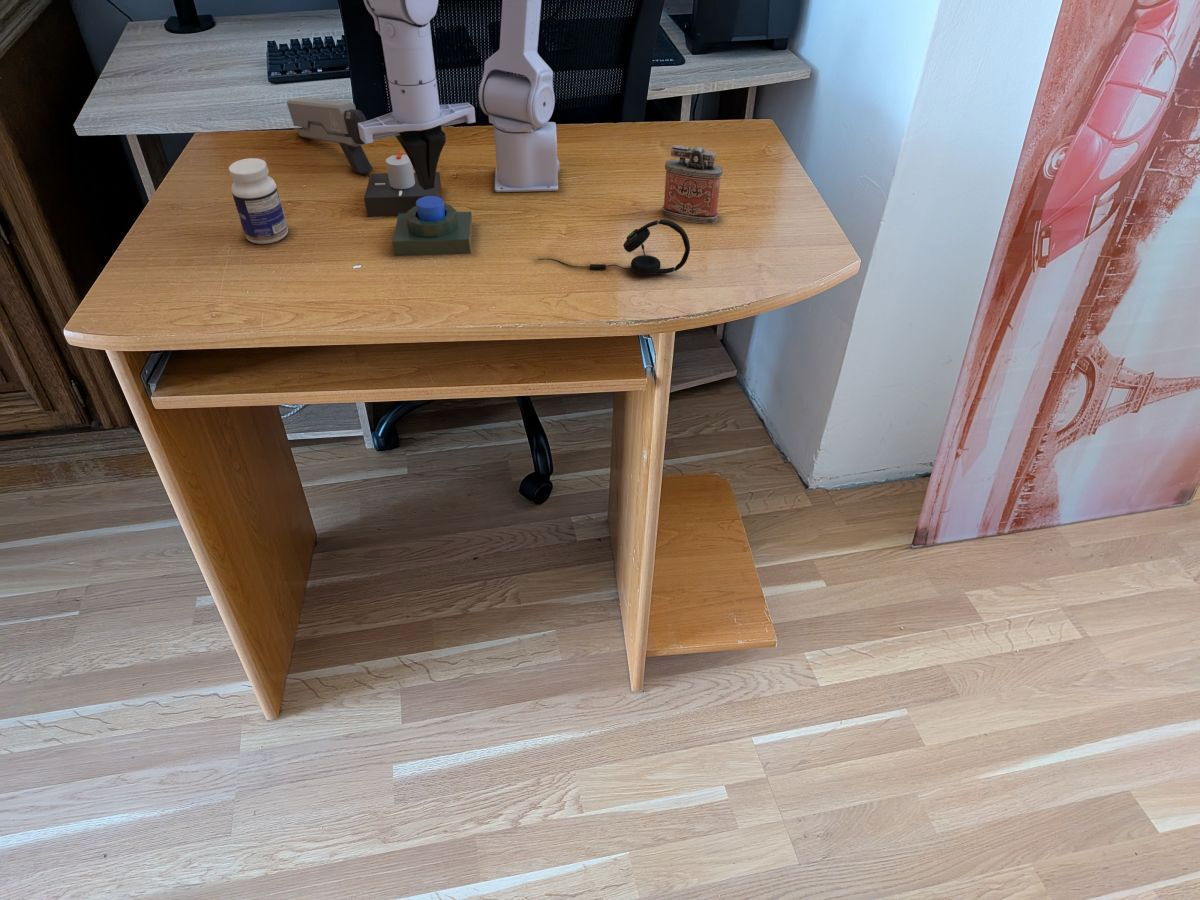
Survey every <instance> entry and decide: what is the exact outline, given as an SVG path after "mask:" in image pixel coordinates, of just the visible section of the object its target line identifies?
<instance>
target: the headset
mask: <svg viewBox="0 0 1200 900" xmlns="http://www.w3.org/2000/svg"><path fill="white" fill-rule="evenodd" d="M658 225H662V226H667V227H669V228H671V229H672V230H674V231H675V232H677V233H678V234H679V236H680V237H681V239H682V242H683V245H684V253H683V255H682V257H681V260H680V261H679V262H678V264H676V266H675V267H674V266H671V267H667V268H661V267H662V264H661V260H660V259H659V258H658V257H655V256H653V255H647V254H646V253H645V244H644V243H645V242H646V241H647V240H648V238H649V237H650V235H651V231H650V229H649V228H651V227H654V226H658ZM622 247H623V249H624V250H625V252H627V253H632V252H633V251H635V250H637V249H638V248H639V247H641V250H642V252H643V255H637V256H635V257H633V258H632V260H631V262H630V268H627V267H622V266H620V265H617V264H608V265H606V264H604V263H603V264H602V263H601V264H599V263H598V264H597V263H593V264H592V263H591V264H589V265H586V266H585V265H582V266H577V265H572V264H568V263H565V262H562V261H560V260H557V259H554V258H547V260H548V261H555V262H557V263H561V264H563V265H566V266H569V267H573V268H589V269H591V270H606V269H607V267H613V266H615V267H618V268H621V269H622V270H623V269H624V270H631V271H632V272H633V273H635V274H637V275H640V276H641V275H642V276H651V275H652V276H653V275H655V274H656V275H657V274H658V275H660V274H661V275H662V274H663V275H664V274H669V273H674V272H676V271H678V270H680V269H681V268H683V266H684V265H685V264H686V263H687V261H688V259H689V256H690V252H691V243H690V239H689V236H688V234H687V232H686V231H685V229H683V227H682V226H680V225H679V224H678V223H676V222H675V221H672V220H669V219H657V220H653V221H651V222H648V223H646V224H644V225H643V226H641V227H640V228H636V229H634V230H632V232H630V233H629V234H627V236H626V240H625V241H624V243H623V245H622ZM537 260H538V261H542V260H544V258H538V259H537Z"/></svg>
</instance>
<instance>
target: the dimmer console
mask: <svg viewBox="0 0 1200 900" xmlns="http://www.w3.org/2000/svg"><path fill="white" fill-rule="evenodd" d="M414 178H415V185H414V186H412V187H410V188H407V189H395V188H392V187H391V186H390V183H389V177H388V172H384V173H383V172H381V173H370V176H369V180H368V181H367V186H366V189H365V194H364V197H363V200H364V205H365V210H366V215H367V216H366V217H367V218H378V217H379V218H384V217H398V214H402V213H407V211H409V210H410V209H412V208H413V207H414V206H416V201H417V200H418V199H420V198H422V197H425V196H437V197H440V198H442V191H443V190H442V181H441V173H440V171H436V174H435V184H434V188H431V189H427V190H424V189H423V188H422V187H421V186H420V185H419V182H418V179H417V176H416V173H415V172H414Z"/></svg>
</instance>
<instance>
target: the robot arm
mask: <svg viewBox="0 0 1200 900" xmlns="http://www.w3.org/2000/svg"><path fill="white" fill-rule="evenodd" d="M363 3H364V6H365V8H366V10H367V11H368V13H369V14H370V15H371V16H372V18H373V21H374V28H375V31H376V32H377V33H378V35H379V36H380V37H381V39H380V40H381V44H382V45H381V46H382V50H383V57H384V58H383V59H384V64H385V70H386V76H387V77H386V78H387V83H388V90H389V96H390V103H391V109H392V111H391V112H389V113H386V114H383V115H381V116H378V117H374V118H372V119H369V120H366V121H365V122H361V123H358V129H359V134H360V139H361V140H362V141H363V142H364V143H365V144H364V145H368V144H372V143H374V141H376V140H382V139H387V138H392V137H395V138H396V139H397V141H398V142H399V144H400V145H401V147H402V149H403V150H404V152H405V155H408V157H409V159H410V161H411V163H412V166H413V171H414V173H416V176H417V179H418V182H419V185H420V186H421V187H422V188H423V189H424V190H427V189H431V188H434V184H435V174H436V172H437V168H438V163H439V159H440V156H441V153H442V151H443V148H444V147H445V144H446V143H447V136H446V133H445V132H444V131H443V127H449V126H454V125H458V124H462V123H463V124H464V123H466V124H473V123H476V122H477V121H476V110H475V107H474V105H472V104H470V103H469V102H460V103H451V104H450V103H449V104H448V103H447V104H440V98H439V97H440V96H439V89H438V82H437V74H436V64H435V56H434V47H433V39H432V30H431V23H430V21H431V20H432V19H433V18H434V17H435V16H436V13H437V11H438V7H439V0H363ZM541 8H542V0H502V1H501V19H500V35H499V48H498V49H497V51H496V52H494V53H493V54H492V55H491V56H489V57H488V58H487V59H486V60H485V61H484V65H483V67H484V68H483V74H482V77H481V81H480V84H479V87H478V102H479V106H480V109H481V111H482V112H483V113H484V114H485V115H486V116H488V123H489V124H492V125H493V134H494V135H493V136H494V137H493V138H494V149H495V163H496V168H495V171H494V192H495V193H524V192H528V193H529V192H557V191H558V190H559V174H558V173H560V160H559V159H558V141H557V140H558V139H557V136H558V135H557V123H556V122H554V121H550V119H551V118H552V115H553V113H554V110H555V103H556V98H555V91H554V82H553V81H554V71H553V70H552V68H551V67H550V65H548V64H547V63H546V61H545V60H544V59H543V58H542V56H540V54H539V52H538V49H539V48H538V47H539V36H540V35H539V34H540V24H541V23H540V22H541V11H542V9H541Z"/></svg>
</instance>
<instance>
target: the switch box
mask: <svg viewBox="0 0 1200 900" xmlns="http://www.w3.org/2000/svg"><path fill="white" fill-rule="evenodd" d="M444 210H445V217H444V218H442V219H439V220H436V221H424V220H419V218H418V214H417V207H416V206H414V207H413V208H412V209H410V210H409V211H407V213H402V214H398V216H397V219H396V223H395V228H394V233H393V237H392V247H393V253H394V257H407V256H410V257H411V256H441V255H444V256H445V255H471V253H472V239H473V229H474V228H473V227H474V224H473V216H472V211H457V210H456V209H455V208H454V207H453V206H452V205H450V204H446V203H444Z"/></svg>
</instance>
